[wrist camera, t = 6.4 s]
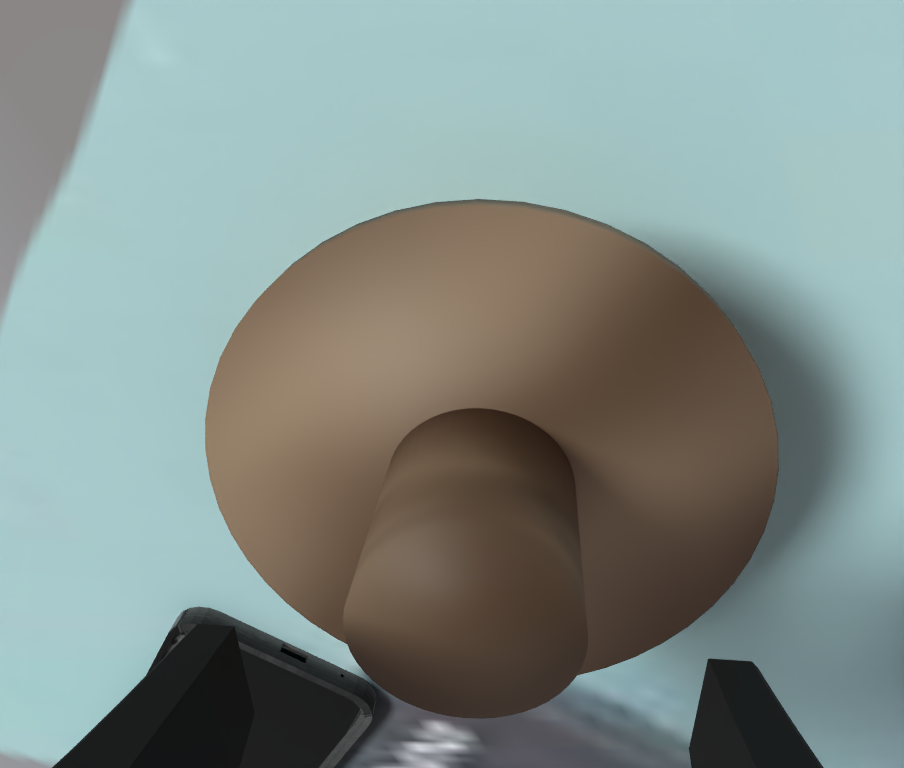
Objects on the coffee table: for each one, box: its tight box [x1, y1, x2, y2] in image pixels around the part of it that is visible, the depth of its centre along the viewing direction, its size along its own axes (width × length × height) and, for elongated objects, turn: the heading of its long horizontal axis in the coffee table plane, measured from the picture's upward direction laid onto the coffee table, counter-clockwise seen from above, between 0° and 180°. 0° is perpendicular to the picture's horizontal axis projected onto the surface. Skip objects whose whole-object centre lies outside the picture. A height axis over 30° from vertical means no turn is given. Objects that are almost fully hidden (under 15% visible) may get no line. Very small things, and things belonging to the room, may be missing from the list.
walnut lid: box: [205, 199, 778, 718], centre depth 13 cm, size 12×12×5 cm
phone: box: [147, 607, 376, 768], centre depth 28 cm, size 8×1×15 cm
